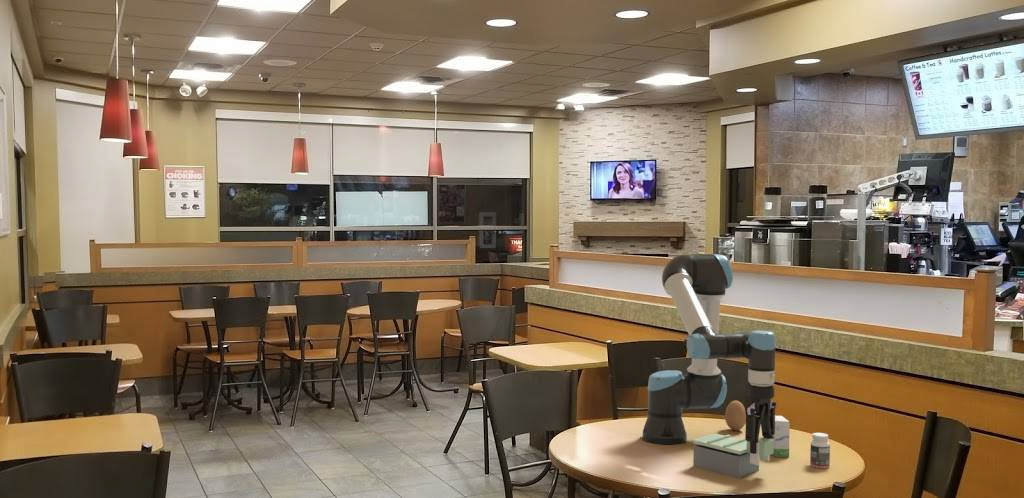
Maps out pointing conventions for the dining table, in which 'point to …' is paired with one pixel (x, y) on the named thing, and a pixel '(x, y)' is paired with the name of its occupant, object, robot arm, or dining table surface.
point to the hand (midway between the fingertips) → (759, 461)
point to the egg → (735, 415)
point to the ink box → (781, 437)
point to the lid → (735, 444)
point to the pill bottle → (820, 451)
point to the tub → (723, 461)
